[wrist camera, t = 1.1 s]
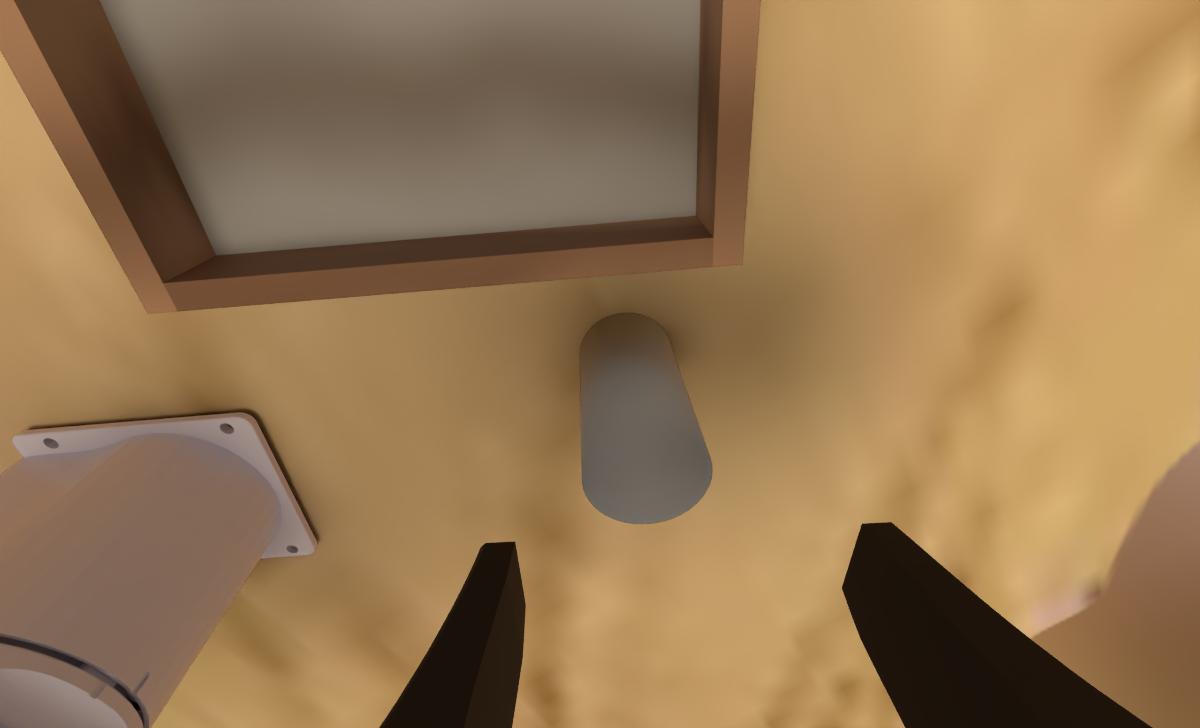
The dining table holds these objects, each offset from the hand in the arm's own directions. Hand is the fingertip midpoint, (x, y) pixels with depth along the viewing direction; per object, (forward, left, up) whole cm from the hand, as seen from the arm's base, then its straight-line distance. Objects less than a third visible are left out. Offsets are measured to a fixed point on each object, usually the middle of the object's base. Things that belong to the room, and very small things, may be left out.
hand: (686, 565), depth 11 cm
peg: (0, -1, -10) cm, 10 cm away
